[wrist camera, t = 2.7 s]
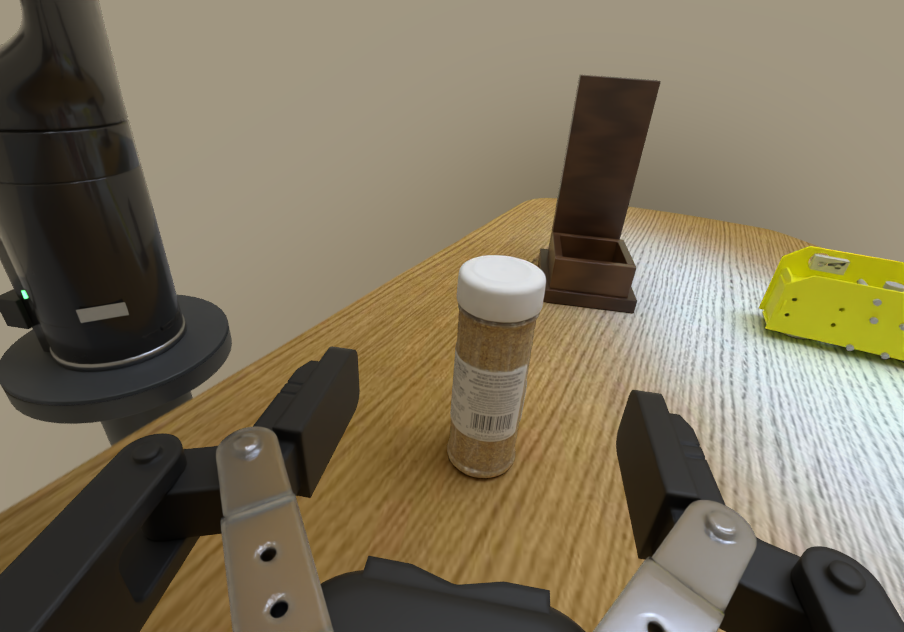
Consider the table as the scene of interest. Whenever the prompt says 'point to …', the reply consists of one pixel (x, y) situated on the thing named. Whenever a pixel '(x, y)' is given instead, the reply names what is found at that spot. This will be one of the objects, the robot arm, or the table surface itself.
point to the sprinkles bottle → (492, 360)
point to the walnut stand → (598, 195)
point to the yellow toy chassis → (839, 300)
